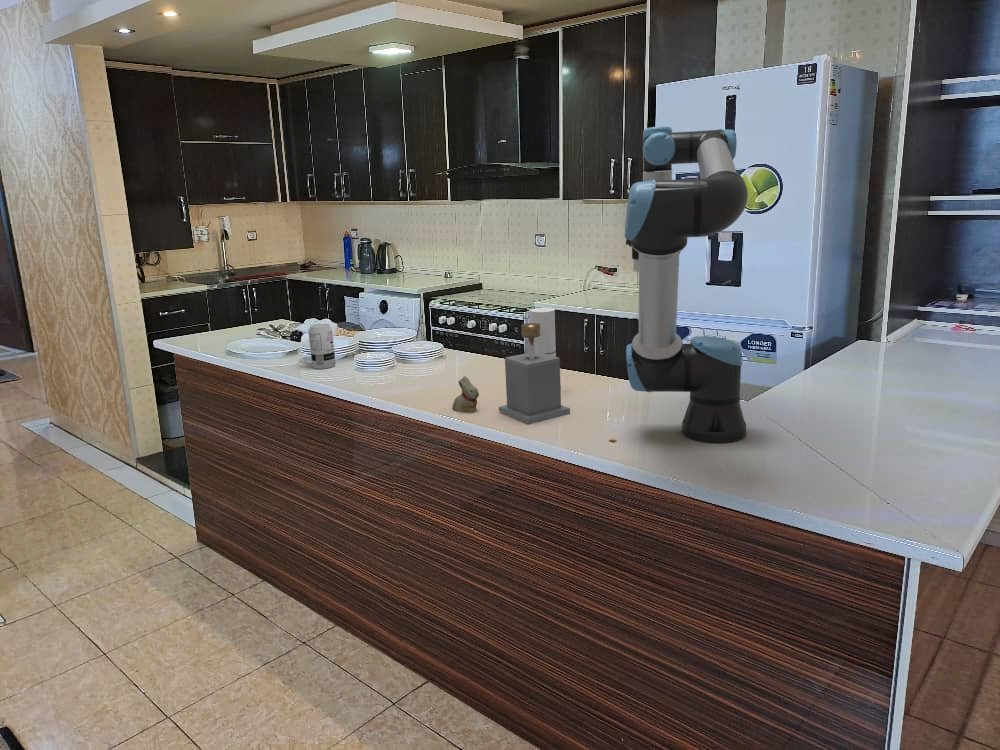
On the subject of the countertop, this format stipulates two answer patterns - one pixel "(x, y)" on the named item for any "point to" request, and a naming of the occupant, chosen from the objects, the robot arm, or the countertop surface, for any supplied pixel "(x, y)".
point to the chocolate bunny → (466, 397)
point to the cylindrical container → (544, 330)
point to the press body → (533, 388)
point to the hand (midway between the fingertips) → (656, 269)
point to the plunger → (531, 336)
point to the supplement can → (321, 346)
